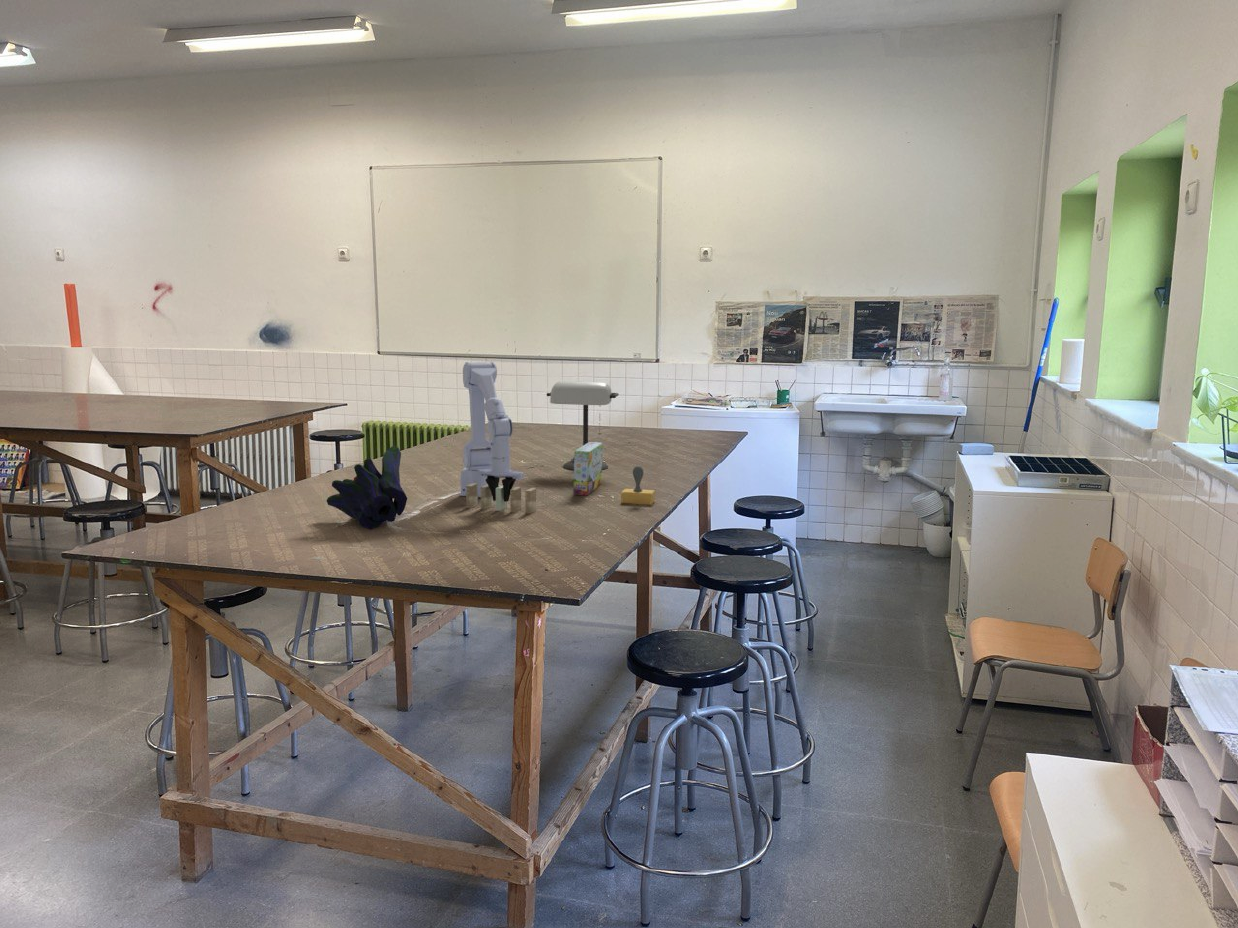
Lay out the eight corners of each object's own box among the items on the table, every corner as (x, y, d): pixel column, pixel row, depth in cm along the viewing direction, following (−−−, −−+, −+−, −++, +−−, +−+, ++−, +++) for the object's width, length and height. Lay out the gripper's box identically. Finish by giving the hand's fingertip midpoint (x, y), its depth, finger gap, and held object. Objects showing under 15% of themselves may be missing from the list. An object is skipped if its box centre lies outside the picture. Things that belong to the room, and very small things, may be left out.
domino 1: (466, 507, 278) (466, 485, 277) (473, 504, 282) (472, 483, 281) (471, 508, 277) (470, 486, 276) (477, 505, 281) (477, 483, 280)
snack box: (589, 496, 297) (589, 451, 294) (572, 495, 298) (572, 450, 295) (602, 483, 317) (603, 441, 315) (587, 482, 319) (587, 441, 316)
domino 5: (525, 513, 272) (525, 490, 270) (531, 510, 276) (531, 488, 275) (530, 513, 271) (530, 491, 270) (536, 510, 275) (536, 488, 274)
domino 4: (510, 511, 273) (510, 489, 272) (516, 508, 277) (516, 486, 276) (515, 512, 273) (515, 489, 271) (521, 509, 277) (521, 487, 276)
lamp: (542, 472, 336) (542, 382, 330) (557, 461, 360) (557, 377, 354) (612, 475, 332) (612, 384, 326) (622, 464, 356) (623, 379, 350)
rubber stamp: (620, 503, 287) (621, 466, 285) (624, 499, 292) (625, 463, 290) (651, 505, 285) (652, 468, 283) (654, 501, 290) (655, 464, 288)
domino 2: (481, 509, 276) (480, 487, 275) (487, 506, 280) (487, 484, 279) (485, 509, 276) (485, 487, 275) (492, 506, 280) (491, 484, 279)
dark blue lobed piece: (357, 561, 251) (332, 513, 275) (441, 519, 259) (410, 475, 282) (327, 505, 240) (304, 459, 263) (416, 462, 247) (385, 421, 270)
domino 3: (495, 510, 275) (495, 488, 274) (502, 507, 279) (502, 485, 278) (500, 510, 274) (500, 488, 273) (506, 507, 278) (506, 485, 277)
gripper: (473, 457, 272) (473, 501, 275) (516, 460, 268) (517, 505, 270) (483, 454, 279) (484, 496, 281) (526, 457, 274) (526, 500, 277)
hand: (501, 500), depth 276 cm, fingers open, 3 cm apart
